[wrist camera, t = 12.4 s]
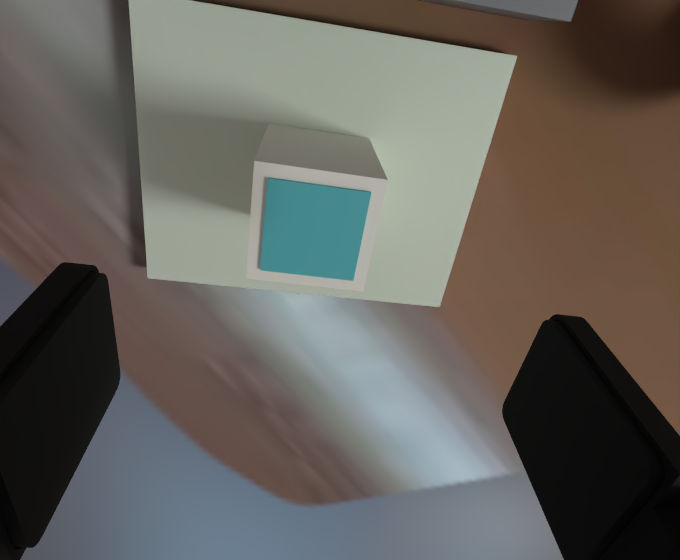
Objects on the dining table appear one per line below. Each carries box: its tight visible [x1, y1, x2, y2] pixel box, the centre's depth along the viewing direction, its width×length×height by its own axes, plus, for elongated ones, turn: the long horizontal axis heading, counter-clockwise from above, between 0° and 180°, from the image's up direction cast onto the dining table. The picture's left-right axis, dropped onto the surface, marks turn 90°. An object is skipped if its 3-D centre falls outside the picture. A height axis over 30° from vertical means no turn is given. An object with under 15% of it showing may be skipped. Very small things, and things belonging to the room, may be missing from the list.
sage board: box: [129, 0, 517, 307], centre depth 22 cm, size 13×16×1 cm
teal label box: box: [246, 123, 388, 291], centre depth 19 cm, size 5×5×6 cm
